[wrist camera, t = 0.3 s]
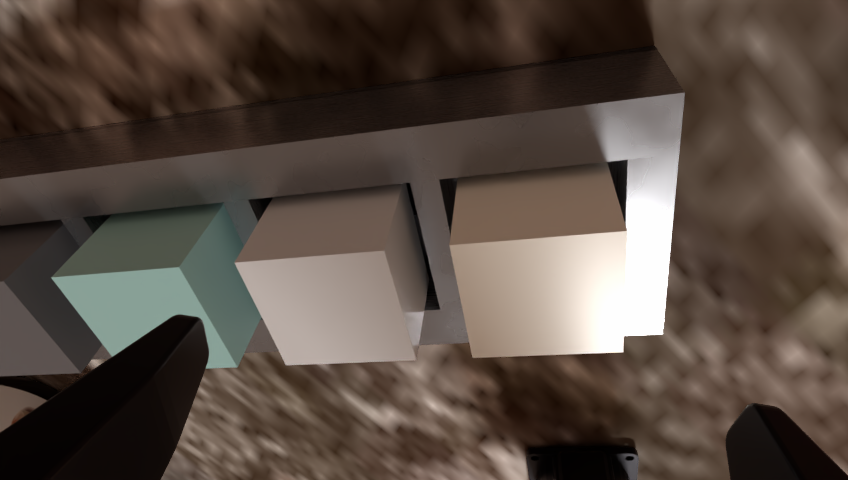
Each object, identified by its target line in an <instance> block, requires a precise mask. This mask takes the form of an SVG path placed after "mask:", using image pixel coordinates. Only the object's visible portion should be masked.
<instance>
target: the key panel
mask: <svg viewBox="0 0 848 480" xmlns="http://www.w3.org/2000/svg"><path fill="white" fill-rule="evenodd" d="M684 95H685V92H684V91H683V89H682V87H681V86H680V84H679V83H678V81H677V80H676V78H675V77H674V75H673V73H672V72H671V70H670V69H669V67H668V66H667V64H666V63H665V61H664V59H663V58H662V56H661V55H660V53H659V52H658V50H657V48H656V47H655V46H650V47H643V48H636V49H629V50H622V51H615V52H608V53H601V54H594V55H587V56H580V57H573V58H566V59H559V60H552V61H545V62H539V63H532V64H525V65H518V66H511V67H504V68H497V69H490V70H483V71H476V72H469V73H462V74H455V75H448V76H441V77H434V78H427V79H420V80H413V81H406V82H399V83H392V84H385V85H378V86H372V87H365V88H358V89H351V90H344V91H337V92H330V93H323V94H316V95H309V96H302V97H295V98H288V99H281V100H274V101H267V102H260V103H253V104H246V105H239V106H232V107H225V108H218V109H212V110H205V111H198V112H191V113H184V114H177V115H170V116H163V117H156V118H149V119H142V120H135V121H128V122H121V123H114V124H107V125H100V126H93V127H86V128H79V129H72V130H65V131H58V132H51V133H45V134H38V135H31V136H24V137H17V138H10V139H3V140H0V226H3V225H13V224H22V223H31V222H41V221H50V220H61V221H62V222H63V224H64V225H65V227H66V228H67V229H68V231H69V232H70V234H71V235H72V237H73V238H74V239H75V241H76V242H77V244H78V245H79V247H81V246H82V245H83V244H84V243H85V242H86V241H87V240H88V239H89V238H90V237H91V236H92V235H93V234H94V232H95V231H96V230H97V229H98V228H99V227H100V226H101V225H102V224H103V223H104V222H105V221H106V220H107V219H108V218H109V217H110V216H111V215H112V214H117V213H126V212H136V211H145V210H155V209H164V208H174V207H183V206H193V205H202V204H211V203H221V202H223V203H224V206H225V208H226V210H227V212H228V214H229V216H230V218H231V220H232V222H233V224H234V226H235V228H236V230H237V233H238V235H239V237H240V239H241V241H242V243H243V245H244V246H245V244H246V242H247V240H248V239H249V237H250V235H251V234H252V232H253V230H254V229H255V227H256V225H257V224H258V222H259V220H260V219H261V217H262V215H263V214H264V212H265V210H266V208H267V207H268V205H269V203H270V202H271V200H272V198H273V197H278V196H287V195H297V194H306V193H316V192H325V191H335V190H344V189H354V188H363V187H373V186H382V185H391V184H401V183H406V186H407V190H408V195H409V199H410V203H411V207H412V211H413V215H414V219H415V223H416V227H417V232H418V236H419V240H420V244H421V248H422V252H423V256H424V260H425V264H426V269H427V273H428V277H429V284H428V291H427V297H426V303H425V310H424V316H423V322H422V329H421V335H420V341H419V345H430V344H453V343H469V339H468V334H467V329H466V324H465V319H464V314H463V309H462V305H461V300H460V295H459V290H458V285H457V280H456V275H455V270H454V265H453V261H452V256H451V251H450V246H449V244H450V236H451V228H452V220H453V212H454V204H455V196H456V188H457V180H458V177H467V176H477V175H486V174H496V173H505V172H515V171H524V170H534V169H543V168H553V167H562V166H571V165H581V164H590V163H600V162H607V164H608V167H609V170H610V174H611V177H612V181H613V184H614V187H615V191H616V194H617V198H618V201H619V204H620V208H621V211H622V215H623V218H624V221H625V225H626V228H627V255H626V285H625V315H624V336H633V335H655V334H663V323H664V312H665V301H666V291H667V280H668V269H669V258H670V247H671V236H672V225H673V215H674V204H675V193H676V182H677V171H678V160H679V150H680V139H681V128H682V117H683V106H684ZM272 351H279V350H278V348H277V346H276V344H275V342H274V340H273V338H272V336H271V334H270V332H269V330H268V328H267V326H266V324H265V322H264V321H263V319H262V317H261V319H260V321H259V323H258V325H257V327H256V329H255V331H254V334H253V336H252V338H251V340H250V342H249V344H248V346H247V348H246V350H245V352H244V353H250V352H272ZM111 357H112V356H111V355H110V353H109V352H108V351H107V349H106V348H105V347H104V345H103V344H102V346H101V347H100V348H99V350H98V351H97V353H96V354H95V355H94V357H93V358H92V359H110V358H111ZM92 359H91V360H92Z"/></svg>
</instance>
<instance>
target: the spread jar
mask: <svg viewBox="0 0 848 480" xmlns="http://www.w3.org/2000/svg"><path fill="white" fill-rule="evenodd" d="M58 393H59V392H58V391H56V390H55V389H53V388H51V387H49V386H47V385H45V384H42V383H40V382H37V381H34V380H31V379H27V378H24V377H19V376H0V432H1V431H3V430H4V429H6V428H7V427H9V426H10V425H12V424H13V423H15V422H16V421H18V420H19V419H21V418H22V417H24V416H25V415H27V414H28V413H30V412H31V411H32V410H34V409H35V408H37V407H38V406H40V405H41V404H43V403H44V402H46V401H47V400H49V399H50V398H52V397H53V396H55V395H56V394H58Z"/></svg>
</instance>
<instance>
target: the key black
mask: <svg viewBox="0 0 848 480" xmlns="http://www.w3.org/2000/svg"><path fill="white" fill-rule="evenodd" d="M79 248H80V247H79V245H78V244H77V242H76V241H75V239H74V238H73V237H72V235H71V234H70V232H69V231H68V229H67V228H66V227H65V225H64V224H63V222H62V221H61V220H50V221H41V222H31V223H22V224H13V225H3V226H0V376H21V375H47V374H73V373H82V371H83V370H84V369H85V367H86V366H87V365H88V363H89V362H90V361H91V359H92V358H93V357H94V355H95V354H96V353H97V351H98V350H99V348H100V347H101V346H102V343H101V342H100V340H99V339H98V338H97V336H96V335H95V334H94V333H93V331H92V330H91V329H90V327H89V326H88V325H87V324H86V322H85V321H84V320H83V318H82V317H81V316H80V314H79V313H78V312H77V311H76V309H75V308H74V307H73V305H72V304H71V303H70V302H69V300H68V299H67V298H66V296H65V295H64V294H63V292H62V291H61V290H60V289H59V287H58V286H57V285H56V283H55V282H54V281H53V280H52V278H51V277H52V276H53V275H54V274H55V273H56V272H57V271H58V270H59V269H60V268H61V267H62V266H63V265H64V263H65V262H66V261H67V260H68V259H69V258H70V257H71V256H72V255H73V254H74V253H75V252H76V251H77V250H78V249H79Z"/></svg>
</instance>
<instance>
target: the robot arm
mask: <svg viewBox="0 0 848 480" xmlns="http://www.w3.org/2000/svg"><path fill="white" fill-rule="evenodd" d="M208 359H209V347H208V342H207V337H206V332H205V328H204V324H203V321H202V320H201V319H200V318H199V317H195V316H188V315H182V314H178V315H174V316H172V317H170V318H169V319H168V320H166V321H165V322H163V323H162V324H160V325H159V326H157V327H156V328H154V329H153V330H151V331H150V332H148V333H147V334H145V335H144V336H142V337H141V338H139V339H138V340H136V341H135V342H133V343H132V344H130V345H129V346H127V347H126V348H124V349H123V350H122V351H120V352H119V353H117V354H116V355H114V356H113V357H111V358H110V359H108V360H107V361H105V362H104V363H102V364H101V365H99V366H98V367H96V368H95V369H93V370H92V371H90V372H89V373H87V374H86V375H84V376H83V377H81V378H80V379H78V380H77V381H76V382H74V383H73V384H71V385H70V386H68V387H67V388H65V389H64V390H62V391H61V392H59V393H58V394H56V395H55V396H53V397H52V398H50V399H49V400H47V401H46V402H44V403H43V404H41V405H40V406H38V407H37V408H35V409H34V410H32V411H31V412H30V413H28V414H27V415H25V416H24V417H22V418H21V419H19V420H18V421H16V422H15V423H13V424H12V425H10V426H9V427H7V428H6V429H4V430H3V431H1V432H0V480H161V478H162V476H163V474H164V472H165V470H166V468H167V466H168V464H169V462H170V459H171V457H172V455H173V453H174V451H175V449H176V447H177V444H178V441H179V439H180V436H181V434H182V431H183V428H184V426H185V423H186V420H187V418H188V415H189V412H190V409H191V407H192V404H193V401H194V399H195V396H196V393H197V390H198V388H199V385H200V382H201V379H202V377H203V374H204V371H205V369H206V366H207V363H208ZM726 451H727V458H728V465H729V472H730V479H731V480H848V475H847V474H846V473H845V472H844V471H843V470H842V469H841V468H840V467H839V466H838V465H837V464H836V463H835V462H834V461H833V460H832V459H831V458H830V457H829V456H828V455H827V454H826V453H825V452H824V451H823V450H822V449H821V448H820V447H819V446H818V445H817V444H816V443H815V442H814V441H813V440H812V439H811V438H810V437H809V436H808V435H807V434H806V433H805V432H804V431H803V430H802V429H801V428H800V427H799V426H798V425H797V424H796V423H795V422H794V421H793V420H792V419H791V418H790V417H789V416H788V415H787V414H786V413H784V412H783V411H782V410H781V409H779V408H777V407H775V406H770V405H763V404H757V403H752V404H749V405H747V407H746V408H745V409H744V410H743V412H742V413H741V414H740V416H739V417H738V418H737V420H736V421H735V422H734V424H733V425H732V426H731V428H730V429H729V431H728V433H727V436H726ZM526 457H527V465H528V472H529V479H530V480H637V474H638V459H639V458H638V453H637V450H636V449H634V448H629V447H613V448H530V449H528V450H527V452H526Z"/></svg>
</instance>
